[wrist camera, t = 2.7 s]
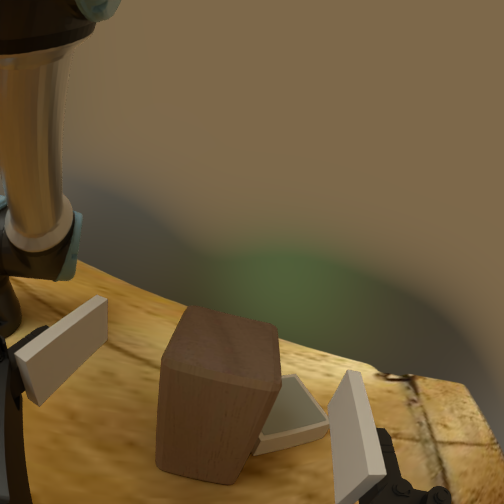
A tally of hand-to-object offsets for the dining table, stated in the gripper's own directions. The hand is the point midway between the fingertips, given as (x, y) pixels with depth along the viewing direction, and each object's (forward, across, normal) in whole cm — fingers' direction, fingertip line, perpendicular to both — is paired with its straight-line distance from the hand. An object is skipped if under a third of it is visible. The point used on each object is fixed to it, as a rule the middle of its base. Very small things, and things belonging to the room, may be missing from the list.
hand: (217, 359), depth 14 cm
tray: (+20, +9, -25) cm, 33 cm away
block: (+10, 0, -25) cm, 27 cm away
